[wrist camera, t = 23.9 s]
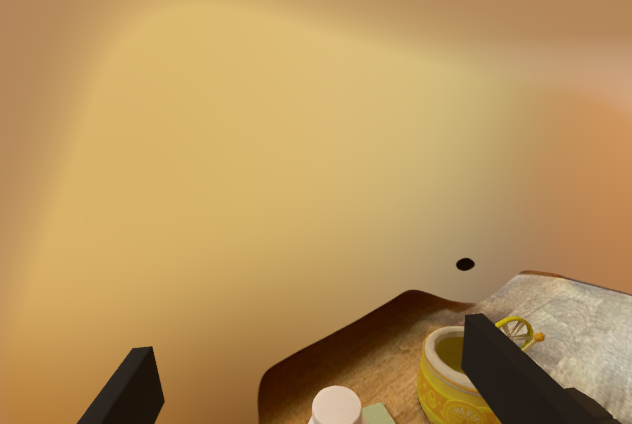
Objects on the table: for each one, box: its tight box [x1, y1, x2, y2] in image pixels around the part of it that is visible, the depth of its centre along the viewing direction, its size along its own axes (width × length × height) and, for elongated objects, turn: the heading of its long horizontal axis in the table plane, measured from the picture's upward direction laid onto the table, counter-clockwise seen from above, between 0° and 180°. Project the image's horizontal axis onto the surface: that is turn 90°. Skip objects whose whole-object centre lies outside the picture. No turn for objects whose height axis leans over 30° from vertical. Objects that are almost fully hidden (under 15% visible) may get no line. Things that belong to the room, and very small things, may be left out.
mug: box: [417, 316, 545, 424], centre depth 32 cm, size 13×11×12 cm
